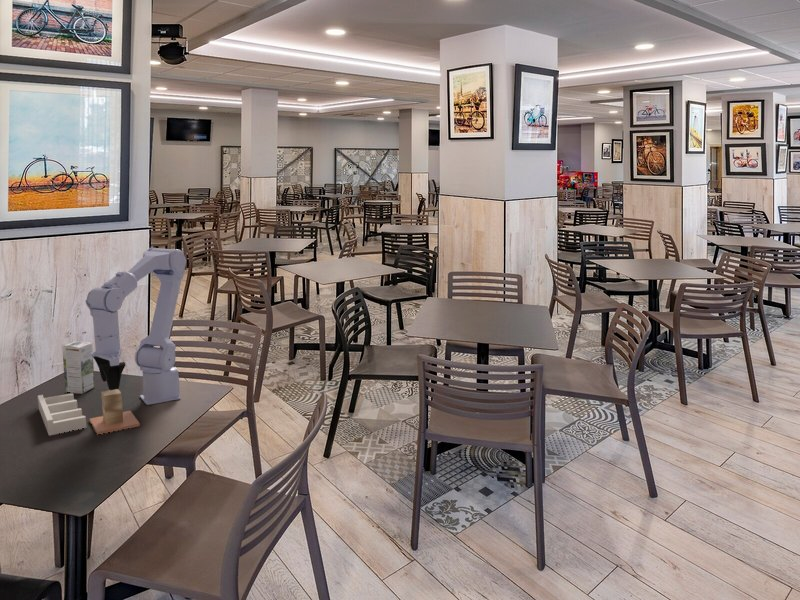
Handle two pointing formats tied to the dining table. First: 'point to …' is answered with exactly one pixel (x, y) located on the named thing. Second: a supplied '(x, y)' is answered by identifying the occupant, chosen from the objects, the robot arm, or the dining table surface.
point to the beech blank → (112, 406)
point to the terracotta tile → (101, 427)
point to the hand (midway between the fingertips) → (110, 384)
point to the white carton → (78, 367)
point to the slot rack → (61, 414)
